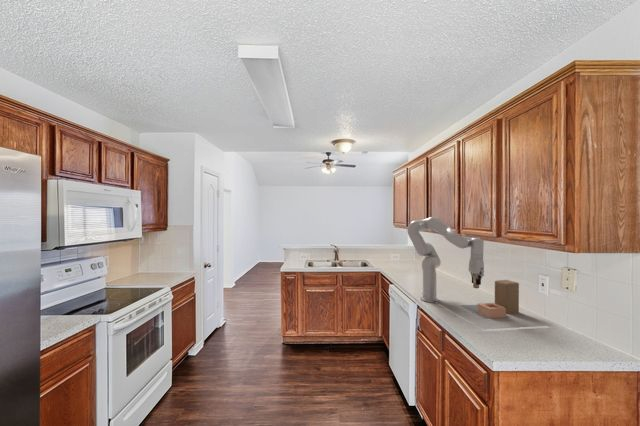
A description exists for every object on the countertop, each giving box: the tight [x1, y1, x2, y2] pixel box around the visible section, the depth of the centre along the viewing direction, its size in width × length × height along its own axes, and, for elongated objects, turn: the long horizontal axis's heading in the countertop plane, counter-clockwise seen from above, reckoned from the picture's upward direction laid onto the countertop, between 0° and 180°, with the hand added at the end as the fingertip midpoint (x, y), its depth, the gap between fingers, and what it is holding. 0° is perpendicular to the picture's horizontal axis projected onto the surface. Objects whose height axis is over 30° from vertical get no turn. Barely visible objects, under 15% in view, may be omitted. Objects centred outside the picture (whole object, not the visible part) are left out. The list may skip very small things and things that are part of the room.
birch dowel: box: [472, 273, 480, 289], centre depth 204 cm, size 4×4×10 cm
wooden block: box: [494, 279, 520, 315], centre depth 197 cm, size 10×10×20 cm
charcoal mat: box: [459, 304, 510, 320], centre depth 197 cm, size 26×17×1 cm, turn 8°
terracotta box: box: [477, 302, 507, 319], centre depth 190 cm, size 11×11×6 cm
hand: (476, 283), depth 204 cm, fingers closed on birch dowel, 3 cm apart
